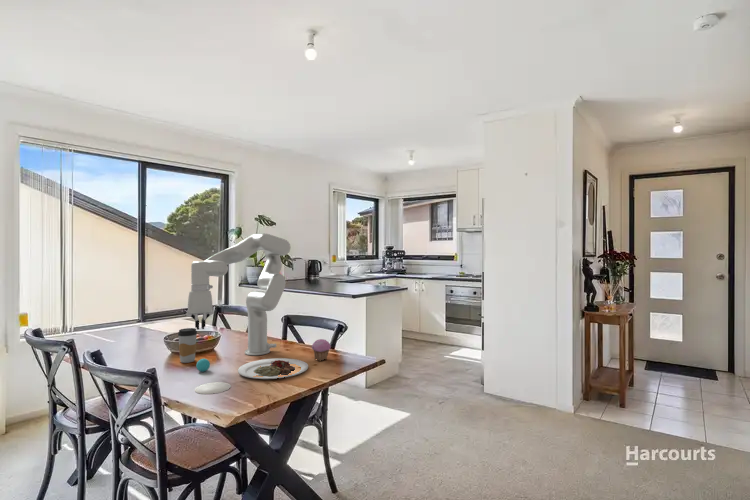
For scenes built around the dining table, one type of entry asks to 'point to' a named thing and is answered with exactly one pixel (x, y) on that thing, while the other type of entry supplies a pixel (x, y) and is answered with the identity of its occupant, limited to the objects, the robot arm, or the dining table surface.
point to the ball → (203, 365)
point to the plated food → (271, 368)
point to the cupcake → (321, 349)
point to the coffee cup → (187, 344)
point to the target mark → (212, 388)
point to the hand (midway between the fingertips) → (200, 328)
